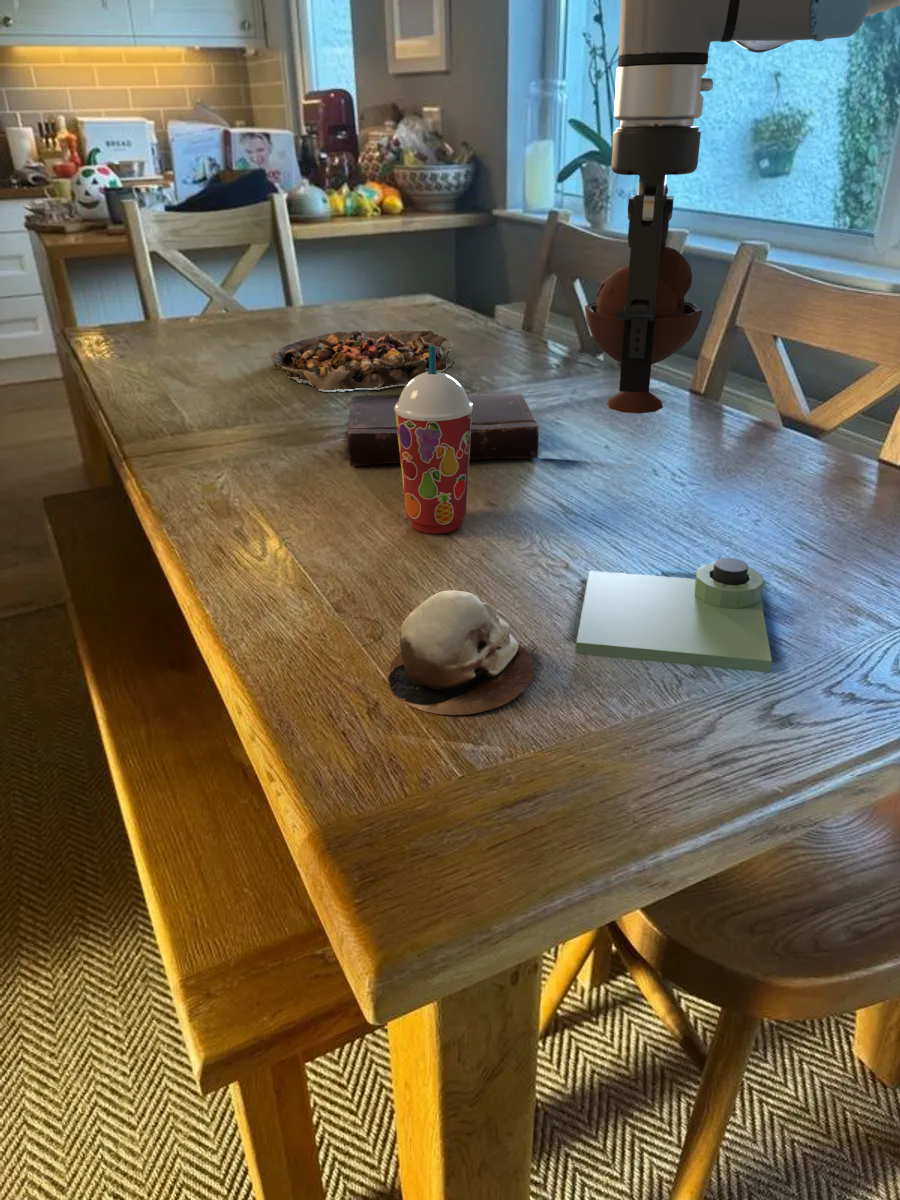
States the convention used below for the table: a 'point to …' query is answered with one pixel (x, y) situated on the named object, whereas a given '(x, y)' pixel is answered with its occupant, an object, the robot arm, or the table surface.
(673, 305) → the ice cream bowl
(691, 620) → the scale
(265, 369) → the table surface
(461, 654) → the skull
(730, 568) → the button
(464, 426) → the smoothie
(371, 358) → the food dish
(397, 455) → the diary
